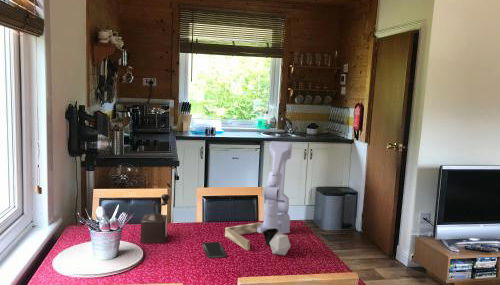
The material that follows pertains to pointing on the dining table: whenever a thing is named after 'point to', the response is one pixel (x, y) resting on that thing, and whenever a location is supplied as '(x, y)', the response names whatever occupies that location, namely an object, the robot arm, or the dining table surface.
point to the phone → (214, 250)
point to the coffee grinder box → (155, 225)
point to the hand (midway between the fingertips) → (268, 245)
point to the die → (280, 244)
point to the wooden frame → (236, 232)
